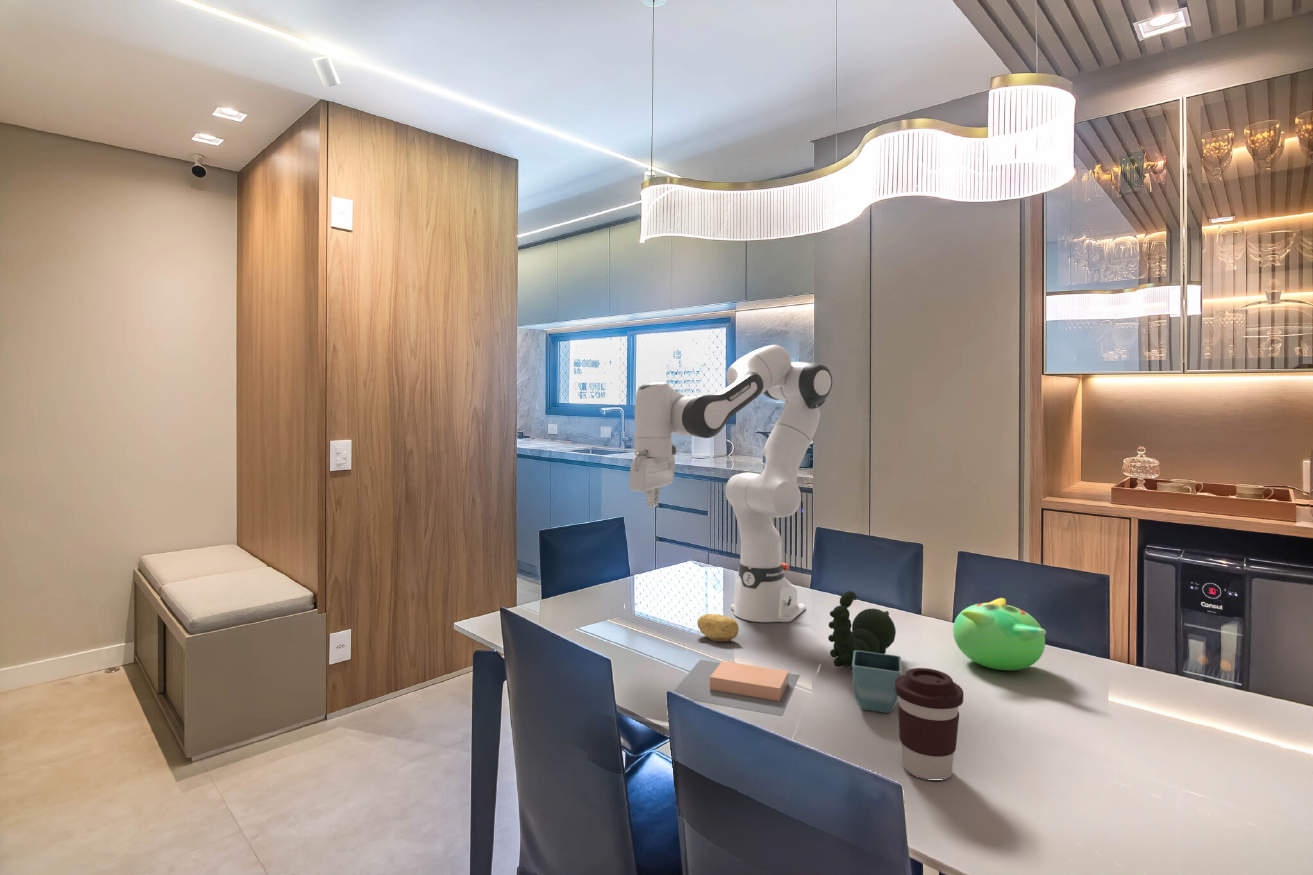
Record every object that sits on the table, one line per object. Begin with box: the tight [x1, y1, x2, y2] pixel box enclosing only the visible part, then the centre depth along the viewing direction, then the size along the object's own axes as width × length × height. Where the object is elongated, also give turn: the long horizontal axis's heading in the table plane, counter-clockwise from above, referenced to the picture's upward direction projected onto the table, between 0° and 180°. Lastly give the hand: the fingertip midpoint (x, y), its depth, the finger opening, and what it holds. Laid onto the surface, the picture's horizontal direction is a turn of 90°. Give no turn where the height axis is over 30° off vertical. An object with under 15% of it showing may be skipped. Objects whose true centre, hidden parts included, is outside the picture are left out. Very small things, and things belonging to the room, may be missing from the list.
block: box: [710, 660, 789, 701], centre depth 131 cm, size 3×9×14 cm
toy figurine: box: [827, 590, 897, 672], centre depth 146 cm, size 9×19×25 cm
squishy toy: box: [952, 597, 1047, 671], centre depth 144 cm, size 18×17×15 cm
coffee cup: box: [895, 667, 964, 780], centre depth 102 cm, size 10×10×15 cm
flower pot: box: [851, 650, 903, 714], centre depth 124 cm, size 9×9×9 cm
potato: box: [696, 613, 740, 642], centre depth 160 cm, size 7×11×6 cm, turn 45°
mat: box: [673, 659, 800, 717], centre depth 132 cm, size 22×20×1 cm
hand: (652, 506), depth 157 cm, fingers closed
